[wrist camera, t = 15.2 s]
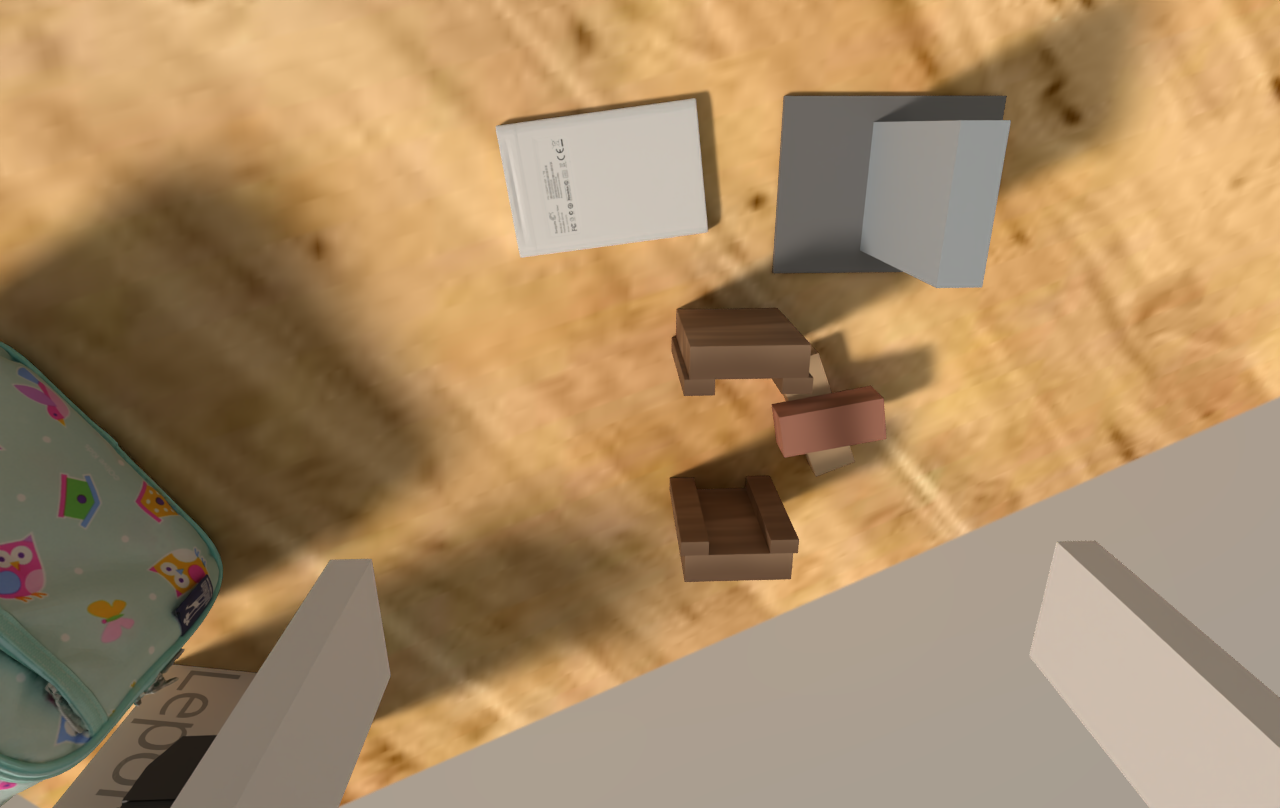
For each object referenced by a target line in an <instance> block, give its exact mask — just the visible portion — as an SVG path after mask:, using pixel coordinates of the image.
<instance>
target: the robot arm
mask: <svg viewBox="0 0 1280 808" xmlns="http://www.w3.org/2000/svg"><path fill="white" fill-rule="evenodd" d="M1029 656H1030V658H1031V659H1032V660H1033V661H1034V663H1035V664H1036V665H1037V666H1038V668H1039V669H1040V670H1041V671H1042V673H1043V674H1044V675H1045V676H1046V678H1047V679H1048V680H1049V681H1050V683H1051V684H1052V685H1053V687H1054V688H1055V689H1056V690H1057V692H1058V693H1059V694H1060V695H1061V697H1062V698H1063V699H1064V700H1065V702H1066V703H1067V704H1068V705H1069V707H1070V708H1071V709H1072V710H1073V712H1074V713H1075V714H1076V716H1077V717H1078V718H1079V719H1080V720H1081V722H1082V723H1083V724H1084V726H1085V727H1086V728H1087V729H1088V731H1089V732H1090V733H1091V734H1092V735H1093V737H1094V738H1095V739H1096V741H1097V742H1098V743H1099V745H1101V747H1102V748H1103V750H1104V751H1105V752H1106V753H1107V755H1108V756H1109V757H1110V758H1111V760H1112V761H1113V762H1114V763H1115V764H1116V766H1117V767H1118V768H1119V770H1120V771H1121V772H1122V774H1123V775H1124V776H1125V777H1126V779H1127V780H1128V781H1129V782H1130V784H1131V785H1132V786H1133V787H1134V789H1135V790H1136V791H1137V792H1138V794H1139V795H1140V796H1141V797H1142V799H1143V800H1144V801H1145V802H1146V804H1147V805H1148V806H1149V808H1280V697H1278V696H1277V695H1276V694H1275V693H1274V692H1272V691H1271V690H1270V689H1269V688H1268V687H1267V686H1265V685H1264V684H1263V683H1262V682H1261V681H1259V680H1258V679H1257V678H1256V677H1255V676H1254V675H1253V674H1251V673H1250V672H1249V671H1248V670H1246V669H1245V668H1244V667H1243V666H1242V665H1241V664H1240V663H1238V662H1237V661H1236V660H1235V659H1234V658H1233V657H1231V656H1230V655H1229V654H1228V653H1227V652H1226V651H1224V650H1223V649H1222V648H1221V647H1220V646H1218V645H1217V644H1216V643H1215V642H1214V641H1212V640H1211V639H1210V638H1209V637H1208V636H1207V635H1206V634H1204V633H1203V632H1202V631H1201V630H1200V629H1198V628H1197V627H1196V626H1195V625H1194V624H1193V623H1191V622H1190V621H1189V620H1188V619H1187V618H1186V617H1184V616H1183V615H1182V614H1181V613H1179V612H1178V611H1177V610H1176V609H1175V608H1174V607H1173V606H1171V605H1170V604H1169V603H1168V602H1167V601H1166V600H1164V599H1163V598H1162V597H1161V596H1160V595H1159V594H1157V593H1156V592H1155V591H1154V590H1153V589H1151V588H1150V587H1149V586H1148V585H1147V584H1146V583H1144V582H1143V581H1142V580H1141V579H1140V578H1139V577H1137V576H1136V575H1135V574H1134V573H1133V572H1132V571H1130V570H1129V569H1128V568H1127V567H1126V566H1124V565H1123V564H1122V563H1121V562H1120V561H1118V560H1117V559H1116V558H1115V557H1114V556H1113V555H1111V554H1110V553H1109V552H1108V551H1107V550H1106V549H1104V548H1103V547H1102V546H1101V545H1099V543H1097V542H1096V541H1065V542H1057V543H1056V547H1055V551H1054V555H1053V559H1052V564H1051V568H1050V572H1049V576H1048V580H1047V584H1046V588H1045V593H1044V597H1043V601H1042V606H1041V609H1040V613H1039V618H1038V622H1037V626H1036V630H1035V634H1034V638H1033V643H1032V647H1031V650H1030V655H1029ZM390 676H391V674H390V668H389V662H388V656H387V650H386V643H385V637H384V631H383V625H382V619H381V613H380V607H379V601H378V594H377V588H376V582H375V576H374V570H373V564H372V559H345V560H330V561H329V562H328V564H327V566H326V567H325V569H324V570H323V572H322V573H321V575H320V576H319V578H318V580H317V581H316V583H315V584H314V586H313V587H312V589H311V590H310V592H309V593H308V595H307V597H306V598H305V600H304V601H303V603H302V604H301V606H300V607H299V609H298V611H297V612H296V614H295V615H294V617H293V618H292V620H291V621H290V623H289V624H288V626H287V628H286V629H285V631H284V632H283V634H282V635H281V637H280V638H279V640H278V642H277V643H276V645H275V646H274V648H273V649H272V651H271V652H270V654H269V656H268V657H267V659H266V660H265V662H264V663H263V665H262V666H261V668H260V669H259V671H258V673H257V674H256V676H255V677H254V679H253V680H252V682H251V683H250V685H249V687H248V688H247V690H246V691H245V693H244V694H243V696H242V697H241V699H240V700H239V702H238V704H237V705H236V707H235V708H234V710H233V711H232V713H231V714H230V716H229V718H228V719H227V721H226V722H225V724H224V725H223V727H222V728H221V730H220V731H219V733H218V735H203V736H182V737H181V738H180V739H179V740H178V741H176V742H175V743H174V744H173V745H172V746H170V747H169V748H168V749H167V750H166V751H164V752H163V753H162V754H161V755H160V756H158V757H157V758H156V759H155V760H154V761H152V762H151V763H150V764H149V765H148V766H147V767H146V768H145V770H144V771H143V772H142V774H141V775H140V776H139V778H138V779H137V781H136V782H135V783H134V785H133V786H132V788H131V789H130V790H129V792H128V793H127V794H126V796H125V797H124V799H123V800H122V805H121V807H120V808H338V807H339V804H340V802H341V799H342V797H343V794H344V792H345V789H346V787H347V784H348V782H349V779H350V777H351V774H352V772H353V769H354V767H355V764H356V762H357V759H358V757H359V754H360V752H361V749H362V747H363V744H364V742H365V739H366V737H367V734H368V732H369V729H370V727H371V724H372V722H373V719H374V717H375V714H376V712H377V709H378V706H379V704H380V701H381V699H382V696H383V694H384V691H385V689H386V686H387V684H388V681H389V679H390Z"/></svg>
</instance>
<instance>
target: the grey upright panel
mask: <svg viewBox="0 0 1280 808" xmlns="http://www.w3.org/2000/svg"><path fill="white" fill-rule="evenodd" d="M1010 123H1011V120H958V121H905V122H874V124H873V134H872V143H871V152H870V162H869V171H868V180H867V189H866V199H865V208H864V217H863V227H862V236H861V245H860V251H862V252H864V253H866V254H868V255H871V256H873V257H875V258H877V259H879V260H881V261H883V262H885V263H887V264H889V265H891V266H893V267H895V268H897V269H899V270H901V271H903V272H905V273H907V274H909V275H911V276H913V277H915V278H917V279H919V280H921V281H923V282H925V283H927V284H930V285H932V286H934V287H936V288H966V287H982V285H983V279H984V274H985V268H986V262H987V256H988V250H989V245H990V239H991V233H992V227H993V221H994V216H995V210H996V204H997V198H998V192H999V187H1000V181H1001V175H1002V169H1003V163H1004V158H1005V152H1006V146H1007V140H1008V134H1009V129H1010Z"/></svg>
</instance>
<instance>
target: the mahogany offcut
mask: <svg viewBox="0 0 1280 808" xmlns="http://www.w3.org/2000/svg"><path fill="white" fill-rule="evenodd" d="M772 411H773V419H774V426H775V434H776V442H777V444H778V446H779V448H780V450H781V452H782V454H783V456H784V458H785V457H791V456H796V455H802V454H807V453H812V452H818V451H823V450H829V449H834V448H840V447H845V446H850V445H856V444H861V443H867V442H872V441H877V440H883V439H886V426H885V411H884V398H883V397H882V396H881V395H880V394H879V393H878V392H877V391H876V390H875V389H874V388H873V387H872V386H867V387H861V388H856V389H851V390H845V391H840V392H835V393H829V394H824V395H819V396H813V397H808V398H803V399H797V400H792V401H787V402H781V403H776V404H772Z"/></svg>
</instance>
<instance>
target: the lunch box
mask: <svg viewBox="0 0 1280 808" xmlns="http://www.w3.org/2000/svg"><path fill="white" fill-rule="evenodd" d="M222 578H223V565H222V561H221V557H220V555H219V553H218V551H217V549H216V547H215V545H214V544H213V542H212V541H211V539H210V538H209V537H208V536H207V534H206V533H205V532H204V531H203V530H202V529H201V528H200V527H199V526H198V525H197V524H196V523H195V522H194V521H193V520H192V519H191V518H190V517H189V516H188V515H187V514H186V513H185V512H184V511H183V510H182V509H181V508H180V507H179V506H178V505H177V504H176V503H175V502H174V501H173V500H172V499H171V498H170V497H169V496H168V495H167V494H166V493H165V492H164V491H163V490H162V489H161V488H160V487H159V486H158V485H157V484H156V483H155V482H154V481H153V480H152V479H151V478H150V477H149V476H148V475H147V474H146V473H145V472H144V471H143V470H142V469H141V468H140V467H138V466H137V465H136V464H135V463H134V462H133V461H132V460H131V458H130V457H129V456H128V455H127V454H126V453H125V452H124V451H123V450H122V449H121V448H120V447H119V446H118V442H116V441H115V440H114V439H113V438H112V437H111V436H110V435H109V434H108V433H107V432H105V431H104V430H103V429H101V428H100V427H99V426H98V425H97V424H95V423H94V422H93V421H92V420H91V419H90V418H89V417H88V416H87V415H86V414H84V413H83V412H82V411H81V410H80V409H79V408H78V407H77V406H76V405H75V404H74V403H73V402H72V401H71V400H70V399H68V398H67V397H66V396H65V395H64V394H63V393H62V392H61V391H60V390H59V389H58V388H57V387H56V386H55V385H54V384H53V383H52V382H51V381H50V380H49V379H48V378H47V377H46V376H45V375H44V374H43V373H41V372H40V371H39V370H38V369H37V368H36V367H35V366H34V365H33V364H32V363H31V362H30V361H28V360H27V359H26V358H25V357H24V356H23V355H21V354H20V353H18V352H17V351H16V350H14V349H13V348H12V347H10V346H8V345H6V344H5V343H3V342H1V341H0V807H1V806H2V805H3V804H5V803H6V802H7V801H8V800H9V799H11V798H12V797H13V796H14V795H15V794H17V793H19V792H22V791H24V790H26V789H28V788H29V787H31V786H33V785H35V784H37V783H39V782H41V781H43V780H45V779H48V778H51V777H55V776H57V775H60V774H62V773H64V772H66V771H68V770H69V769H71V768H73V767H74V766H75V765H77V764H78V763H79V762H81V761H82V760H83V759H85V758H86V757H87V756H88V755H89V754H90V753H91V752H92V751H93V750H94V749H95V748H96V747H97V746H98V745H99V744H100V743H101V741H102V740H103V739H104V738H105V737H106V736H107V734H108V733H109V732H110V731H111V730H112V728H113V727H114V726H115V725H116V724H117V723H118V721H119V720H120V719H121V718H122V716H123V715H124V714H125V713H126V711H127V710H128V709H129V708H130V707H131V706H132V704H133V703H134V705H136V706H140V704H141V703H142V702H141V698H143V697H144V696H145V695H149V694H154V693H156V692H158V691H160V690H161V689H163V688H164V687H167V686H168V685H170V684H172V683H174V682H176V681H177V680H178V679H179V678H177V677H174V678H171V679H169V680H165V678H164V677H163V673H166V672H167V671H168V670H169V668H170V667H171V666H172V665H173V663H174V662H175V660H176V659H178V658H179V657H180V655H181V654H182V653H183V652H184V649H181V648H182V647H183V645H184V644H185V643H186V642H187V641H188V640H189V638H190V637H191V636H192V635H193V634H194V632H195V631H196V630H197V628H198V627H199V626H200V625H201V623H202V622H203V620H204V619H205V618H206V616H207V614H208V613H209V611H210V609H211V608H212V606H213V604H214V602H215V600H216V598H217V596H218V593H219V590H220V587H221V583H222Z"/></svg>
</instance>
